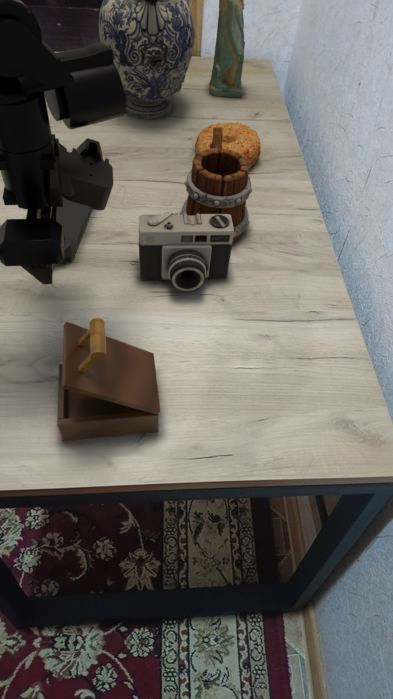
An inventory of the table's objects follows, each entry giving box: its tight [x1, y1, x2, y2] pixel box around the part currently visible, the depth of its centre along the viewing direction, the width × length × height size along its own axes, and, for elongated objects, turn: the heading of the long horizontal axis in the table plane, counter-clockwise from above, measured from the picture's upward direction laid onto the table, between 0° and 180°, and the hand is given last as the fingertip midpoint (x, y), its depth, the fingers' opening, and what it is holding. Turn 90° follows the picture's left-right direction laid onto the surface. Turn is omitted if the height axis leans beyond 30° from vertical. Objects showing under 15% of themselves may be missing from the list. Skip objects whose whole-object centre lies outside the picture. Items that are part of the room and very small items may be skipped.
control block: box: [56, 197, 94, 263], centre depth 80 cm, size 20×6×3 cm, turn 173°
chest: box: [56, 363, 160, 442], centre depth 60 cm, size 11×8×4 cm
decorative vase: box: [98, 0, 195, 120], centre depth 96 cm, size 21×19×28 cm
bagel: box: [194, 121, 262, 169], centre depth 96 cm, size 13×14×5 cm
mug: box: [178, 127, 253, 242], centre depth 80 cm, size 12×14×15 cm
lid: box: [61, 317, 161, 414], centre depth 54 cm, size 12×8×5 cm
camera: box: [138, 211, 234, 292], centre depth 72 cm, size 14×9×10 cm, turn 88°
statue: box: [209, 0, 246, 98], centre depth 104 cm, size 7×8×25 cm
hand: (49, 256), depth 61 cm, fingers open, 9 cm apart
